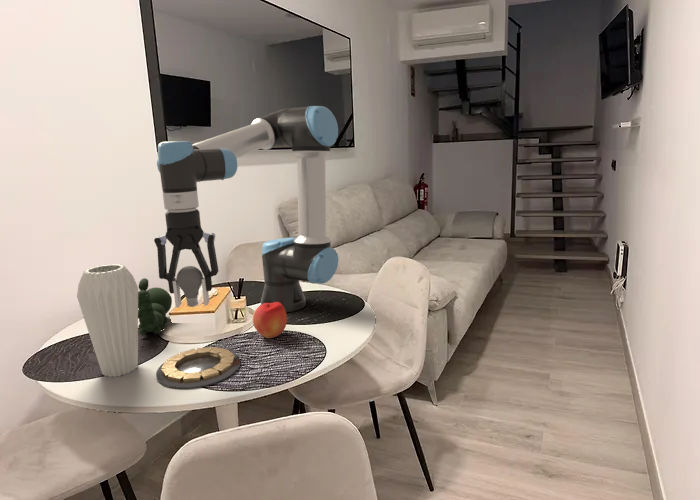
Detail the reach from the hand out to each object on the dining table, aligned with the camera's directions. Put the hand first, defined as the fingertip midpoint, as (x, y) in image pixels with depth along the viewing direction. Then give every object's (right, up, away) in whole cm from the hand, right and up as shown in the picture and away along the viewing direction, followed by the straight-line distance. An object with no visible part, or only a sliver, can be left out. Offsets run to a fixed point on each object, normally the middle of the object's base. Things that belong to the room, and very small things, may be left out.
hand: (192, 304), depth 115 cm
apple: (+15, -12, +22) cm, 29 cm away
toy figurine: (-22, -11, +32) cm, 40 cm away
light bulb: (0, -1, 0) cm, 1 cm away
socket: (0, -16, +4) cm, 17 cm away
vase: (-20, -17, +5) cm, 27 cm away
